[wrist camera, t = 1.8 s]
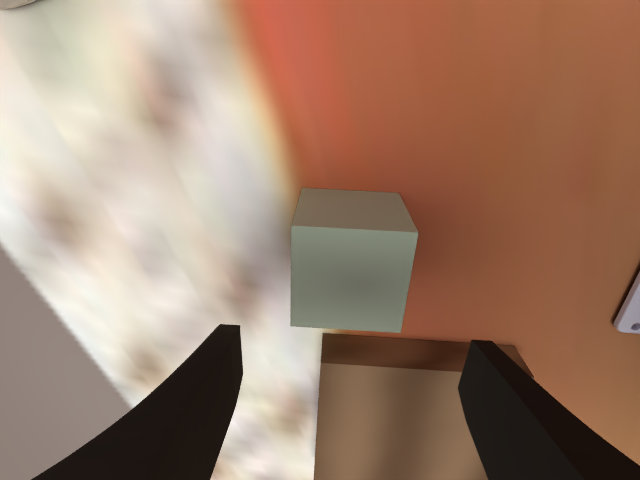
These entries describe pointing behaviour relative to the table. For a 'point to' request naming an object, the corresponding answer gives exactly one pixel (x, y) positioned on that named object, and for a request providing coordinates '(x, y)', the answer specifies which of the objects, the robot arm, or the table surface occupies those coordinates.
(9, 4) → the photo printer
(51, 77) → the table surface
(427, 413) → the walnut riser block
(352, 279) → the sage wooden cube
